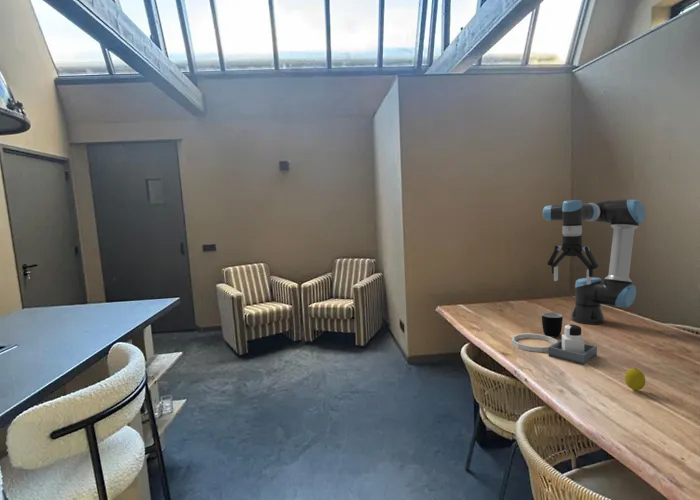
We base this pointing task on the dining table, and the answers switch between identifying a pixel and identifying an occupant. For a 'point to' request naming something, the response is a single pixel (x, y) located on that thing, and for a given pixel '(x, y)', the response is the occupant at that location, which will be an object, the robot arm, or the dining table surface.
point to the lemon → (635, 379)
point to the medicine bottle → (573, 339)
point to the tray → (573, 353)
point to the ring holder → (532, 348)
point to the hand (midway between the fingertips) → (571, 282)
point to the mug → (552, 324)
